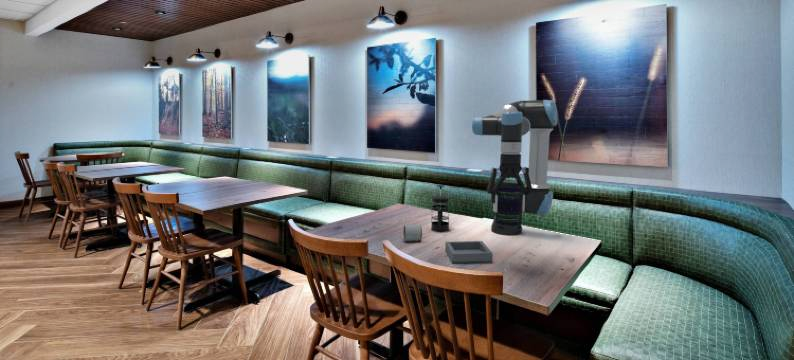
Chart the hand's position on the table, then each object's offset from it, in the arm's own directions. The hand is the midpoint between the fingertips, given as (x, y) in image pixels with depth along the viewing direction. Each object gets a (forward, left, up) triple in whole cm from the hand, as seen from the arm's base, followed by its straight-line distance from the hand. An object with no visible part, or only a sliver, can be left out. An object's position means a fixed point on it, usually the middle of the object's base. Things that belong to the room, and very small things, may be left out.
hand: (508, 211), depth 159 cm
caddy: (+13, -11, -22) cm, 27 cm away
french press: (+18, -52, -22) cm, 59 cm away
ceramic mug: (+34, -36, -22) cm, 54 cm away
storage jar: (0, 0, -5) cm, 5 cm away
